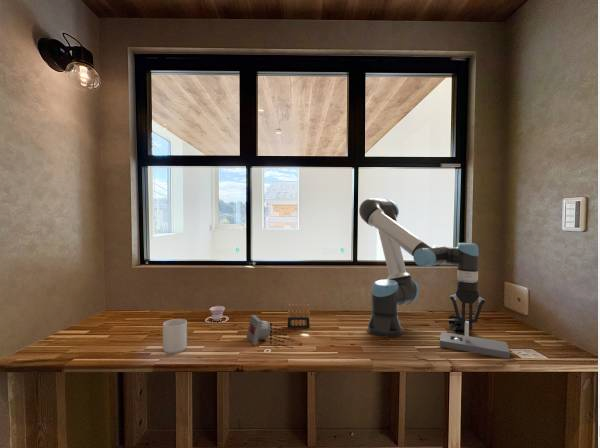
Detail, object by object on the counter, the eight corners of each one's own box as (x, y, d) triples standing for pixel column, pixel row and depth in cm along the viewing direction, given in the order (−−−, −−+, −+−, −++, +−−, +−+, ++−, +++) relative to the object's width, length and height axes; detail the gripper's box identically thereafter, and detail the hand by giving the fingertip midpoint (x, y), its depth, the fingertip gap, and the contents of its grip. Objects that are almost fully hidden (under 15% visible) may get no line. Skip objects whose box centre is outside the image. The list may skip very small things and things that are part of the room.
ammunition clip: (287, 327, 149) (287, 303, 149) (287, 326, 151) (287, 302, 151) (309, 328, 149) (309, 303, 149) (309, 326, 151) (309, 302, 151)
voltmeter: (238, 342, 131) (238, 319, 131) (254, 333, 141) (255, 312, 141) (292, 356, 119) (292, 330, 118) (306, 345, 129) (306, 321, 128)
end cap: (472, 334, 141) (472, 319, 141) (455, 333, 142) (455, 319, 142) (463, 326, 151) (463, 313, 151) (448, 326, 152) (448, 312, 152)
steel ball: (459, 347, 128) (451, 344, 129) (459, 345, 130) (451, 341, 132) (461, 341, 127) (454, 337, 129) (461, 338, 130) (454, 335, 131)
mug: (184, 354, 120) (184, 325, 120) (160, 355, 118) (160, 326, 118) (190, 342, 132) (190, 315, 132) (168, 343, 130) (168, 316, 130)
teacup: (225, 324, 155) (225, 311, 154) (201, 323, 155) (201, 311, 155) (231, 316, 166) (231, 305, 166) (209, 316, 167) (209, 305, 167)
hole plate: (439, 346, 128) (439, 340, 128) (441, 337, 137) (441, 331, 137) (509, 358, 116) (509, 352, 116) (506, 348, 126) (506, 342, 126)
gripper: (449, 280, 127) (448, 337, 128) (486, 284, 121) (485, 343, 122) (450, 277, 134) (449, 331, 134) (485, 280, 128) (484, 337, 128)
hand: (466, 337), depth 128 cm, fingers closed
